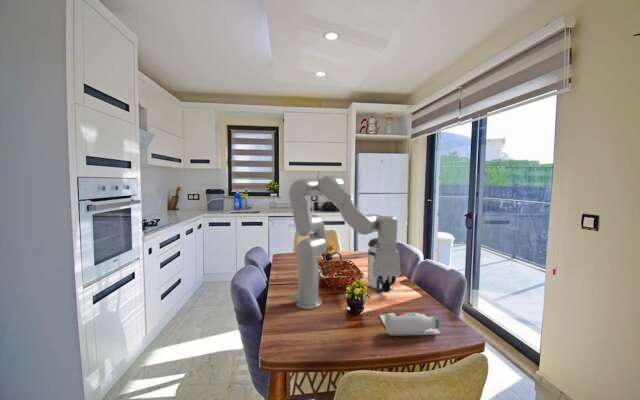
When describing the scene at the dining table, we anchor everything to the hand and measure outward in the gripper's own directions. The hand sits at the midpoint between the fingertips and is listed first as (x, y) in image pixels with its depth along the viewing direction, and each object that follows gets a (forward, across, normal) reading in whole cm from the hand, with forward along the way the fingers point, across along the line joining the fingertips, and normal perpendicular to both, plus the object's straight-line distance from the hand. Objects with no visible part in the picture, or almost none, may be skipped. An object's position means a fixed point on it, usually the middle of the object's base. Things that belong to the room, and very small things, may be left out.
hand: (385, 291), depth 119 cm
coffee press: (+15, +9, +40) cm, 43 cm away
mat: (+14, +10, 0) cm, 17 cm away
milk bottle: (+10, -2, -8) cm, 13 cm away
